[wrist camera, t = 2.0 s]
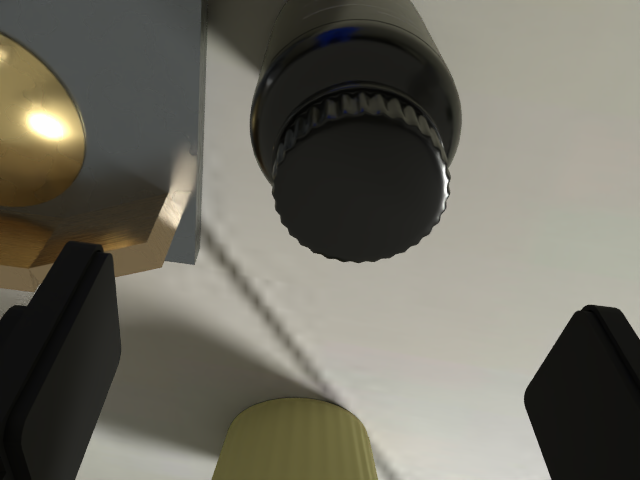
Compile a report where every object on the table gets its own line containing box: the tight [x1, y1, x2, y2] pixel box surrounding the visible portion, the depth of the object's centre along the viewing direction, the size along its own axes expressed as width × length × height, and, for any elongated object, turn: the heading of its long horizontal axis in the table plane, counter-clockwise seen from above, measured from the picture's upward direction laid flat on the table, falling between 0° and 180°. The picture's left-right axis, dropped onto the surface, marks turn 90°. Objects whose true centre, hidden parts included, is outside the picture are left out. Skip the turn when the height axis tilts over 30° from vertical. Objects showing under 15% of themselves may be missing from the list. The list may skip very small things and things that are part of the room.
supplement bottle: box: [250, 0, 462, 263], centre depth 19 cm, size 7×7×12 cm
